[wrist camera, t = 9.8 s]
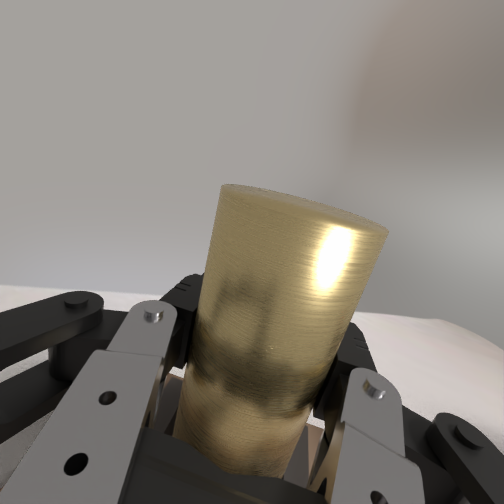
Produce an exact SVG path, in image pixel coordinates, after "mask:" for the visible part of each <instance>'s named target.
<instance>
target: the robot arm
mask: <svg viewBox="0 0 504 504" xmlns="http://www.w3.org/2000/svg"><path fill="white" fill-rule="evenodd" d="M203 278H204V273H203V274H202V275H198V274H193V275H190V276H187V277H185V278H184V279H183V280H181V281H180V283H178V284H177V285H176V286H175V287H174V288H172V289H171V290H170V291H169V292H168V293H167V294H165V295H164V296H163V297H162V298H161V299H160V300H159V301H157V300H149V301H143V302H140V303H138V304H136V305H134V306H133V307H132V308H131V309H130V311H129V312H123V311H114V310H105V309H103V307H104V300H103V298H102V297H101V296H100V295H98V294H96V293H92V292H87V291H74V292H67V293H63V294H60V295H57V296H53V297H50V298H47V299H44V300H40V301H37V302H34V303H30V304H27V305H24V306H21V307H17V308H14V309H11V310H7V311H4V312H1V313H0V371H2V370H3V369H5V368H6V367H8V366H10V365H12V364H15V363H17V362H19V361H21V360H24V359H26V358H28V357H30V356H32V355H35V354H37V353H39V352H41V351H43V350H46V349H48V355H49V359H48V360H46V361H44V362H42V363H40V364H38V365H36V366H34V367H32V368H30V369H28V370H26V371H24V372H22V373H20V374H18V375H16V376H14V377H12V378H9V379H7V380H5V381H3V382H1V383H0V444H1V443H3V442H4V441H6V440H7V439H9V438H11V437H12V436H14V435H15V434H17V433H18V432H20V431H21V430H23V429H24V428H26V427H28V426H29V425H31V424H32V423H34V422H35V421H37V420H38V419H40V418H42V417H43V416H45V415H46V414H48V413H49V412H51V411H52V410H54V409H55V408H56V409H55V410H54V412H53V413H52V415H51V416H50V418H49V419H48V421H47V422H46V424H45V425H44V427H43V428H42V430H41V431H40V433H39V434H38V436H37V437H36V439H35V440H34V442H33V443H32V445H31V446H30V448H29V449H28V451H27V453H26V454H25V456H24V457H23V459H22V460H21V462H20V463H19V465H18V466H17V468H16V469H15V471H14V472H13V474H12V475H11V477H10V478H9V480H8V481H7V483H6V484H5V486H4V487H3V489H2V490H1V491H0V504H504V455H503V454H502V453H501V452H500V451H499V450H498V449H497V448H496V446H495V445H494V444H493V443H492V442H491V441H490V440H489V439H488V438H487V437H486V436H485V435H484V434H483V433H482V432H481V431H479V430H478V429H477V428H476V427H474V426H473V425H471V424H470V423H468V422H467V421H465V420H464V419H462V418H460V417H458V416H455V415H453V414H450V413H439V414H437V415H436V417H435V418H434V420H433V421H432V422H431V421H429V420H427V419H425V418H424V417H422V416H420V415H418V414H417V413H415V412H413V411H411V410H410V409H408V408H406V407H405V406H403V405H402V401H401V397H400V394H399V392H398V391H397V389H396V388H395V387H394V386H393V385H392V383H390V382H389V381H388V380H387V379H386V378H385V377H383V376H382V375H380V374H378V373H377V370H376V367H375V365H374V362H373V359H372V357H371V354H370V351H368V350H369V349H368V346H367V343H366V341H365V338H364V335H363V333H362V332H361V330H360V329H359V328H358V327H357V326H356V325H355V324H354V323H351V322H350V323H349V325H348V327H347V330H346V332H345V334H344V337H343V339H342V341H341V344H340V346H339V348H338V350H337V353H336V355H335V357H334V360H333V362H332V364H331V367H330V369H329V371H328V373H327V376H326V378H325V380H324V383H323V385H322V387H321V390H320V392H319V394H318V396H317V399H316V401H315V403H314V406H313V417H315V418H318V419H321V420H324V421H325V428H324V431H323V433H322V435H321V437H320V440H319V444H318V447H317V451H316V454H315V458H314V461H313V465H312V469H311V472H310V476H309V479H308V483H307V486H306V488H303V487H301V486H298V485H295V484H293V483H290V482H288V481H285V480H283V479H280V478H277V477H265V476H253V475H240V474H230V473H227V472H225V471H223V470H222V469H220V468H219V467H218V466H217V465H215V464H214V463H213V462H211V461H210V460H209V459H207V458H206V457H205V456H204V455H202V454H201V453H200V452H198V451H197V450H196V449H194V448H193V447H192V446H191V445H189V444H188V443H187V442H185V441H182V440H180V439H177V438H174V437H172V436H169V435H167V434H164V433H162V432H159V431H156V430H154V426H155V422H156V418H157V414H158V410H159V406H160V402H161V399H162V395H163V391H164V387H165V383H166V377H167V375H168V373H169V372H170V370H171V369H172V367H173V366H174V367H177V368H179V369H183V367H184V366H185V364H186V363H187V359H188V354H189V349H190V344H191V339H192V334H193V328H194V323H195V318H196V313H197V308H198V303H199V298H200V293H201V288H202V283H203Z"/></svg>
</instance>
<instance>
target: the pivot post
mask: <svg viewBox="0 0 504 504" xmlns="http://www.w3.org/2000/svg"><path fill="white" fill-rule="evenodd" d="M388 233H389V231H388V230H387V229H386V228H385V227H383V226H381V225H379V224H377V223H375V222H373V221H371V220H368V219H366V218H363V217H361V216H358V215H355V214H353V213H350V212H347V211H344V210H341V209H337V208H335V207H331V206H328V205H325V204H321V203H318V202H315V201H311V200H307V199H304V198H300V197H296V196H292V195H288V194H284V193H280V192H276V191H271V190H266V189H261V188H256V187H250V186H244V185H234V184H225V185H222V186H221V191H220V197H219V201H218V206H217V211H216V217H215V222H214V227H213V232H212V237H211V242H210V248H209V252H208V257H207V262H206V267H205V272H204V278H203V283H202V288H201V293H200V298H199V303H198V308H197V313H196V318H195V323H194V328H193V334H192V339H191V344H190V349H189V354H188V359H187V364H186V369H185V374H184V379H183V384H182V390H181V395H180V400H179V405H178V410H177V415H176V420H175V425H174V430H173V435H172V437H174V438H177V439H180V440H182V441H185V442H187V443H188V444H189V445H191V446H192V447H193V448H194V449H196V450H197V451H198V452H200V453H201V454H202V455H204V456H205V457H206V458H207V459H209V460H210V461H211V462H213V463H214V464H215V465H217V466H218V467H219V468H220V469H222V470H223V471H225V472H227V473H230V474H240V475H253V476H265V477H277V478H280V479H282V477H283V475H284V472H285V470H286V468H287V465H288V463H289V461H290V459H291V456H292V454H293V452H294V449H295V447H296V445H297V442H298V440H299V438H300V436H301V433H302V431H303V429H304V426H305V424H306V422H307V419H308V417H309V415H310V413H311V410H312V408H313V406H314V403H315V401H316V399H317V396H318V394H319V392H320V390H321V387H322V385H323V383H324V380H325V378H326V376H327V373H328V371H329V369H330V367H331V364H332V362H333V360H334V357H335V355H336V353H337V350H338V348H339V346H340V344H341V341H342V339H343V337H344V334H345V332H346V330H347V327H348V325H349V323H350V321H351V318H352V316H353V314H354V311H355V309H356V306H357V304H358V302H359V300H360V297H361V295H362V293H363V290H364V288H365V286H366V284H367V282H368V279H369V277H370V275H371V272H372V270H373V268H374V265H375V263H376V261H377V258H378V256H379V254H380V252H381V249H382V247H383V245H384V242H385V240H386V238H387V235H388Z"/></svg>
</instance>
